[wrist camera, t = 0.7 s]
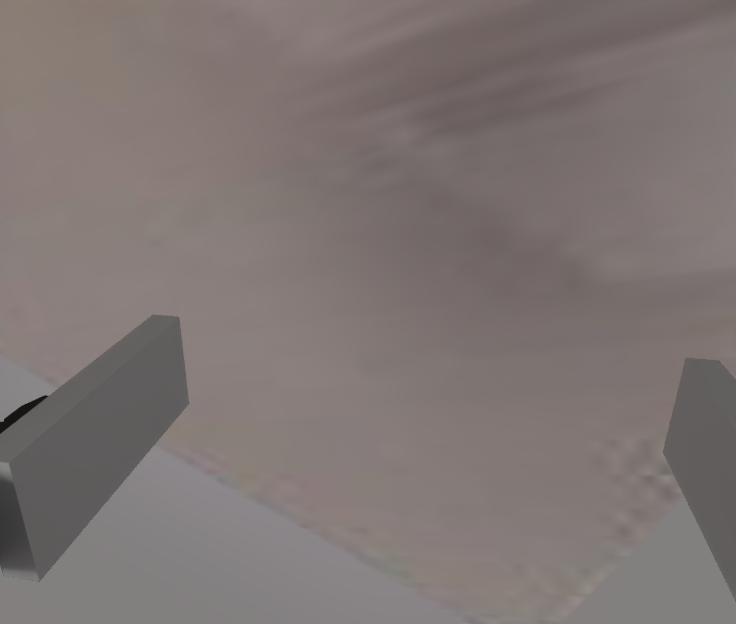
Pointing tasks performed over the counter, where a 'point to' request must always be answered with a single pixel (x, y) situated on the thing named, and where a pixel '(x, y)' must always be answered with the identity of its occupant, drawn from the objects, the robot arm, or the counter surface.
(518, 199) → the counter surface
